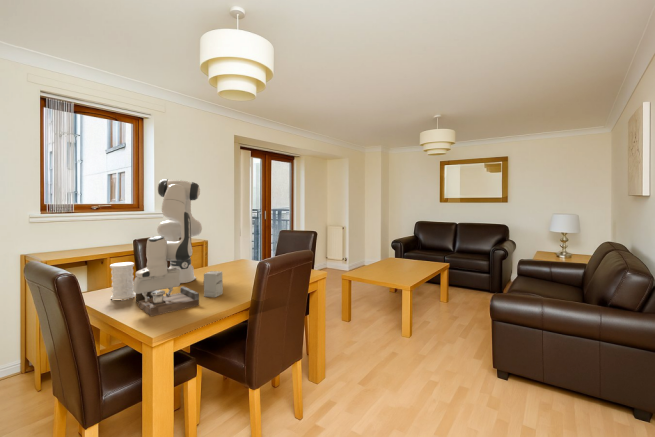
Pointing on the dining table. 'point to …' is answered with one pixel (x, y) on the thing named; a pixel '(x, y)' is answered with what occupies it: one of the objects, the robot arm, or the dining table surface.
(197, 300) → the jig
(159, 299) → the frosted bulb shape
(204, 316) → the dining table surface
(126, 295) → the decorative container
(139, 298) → the pillar candle
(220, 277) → the supplement box
